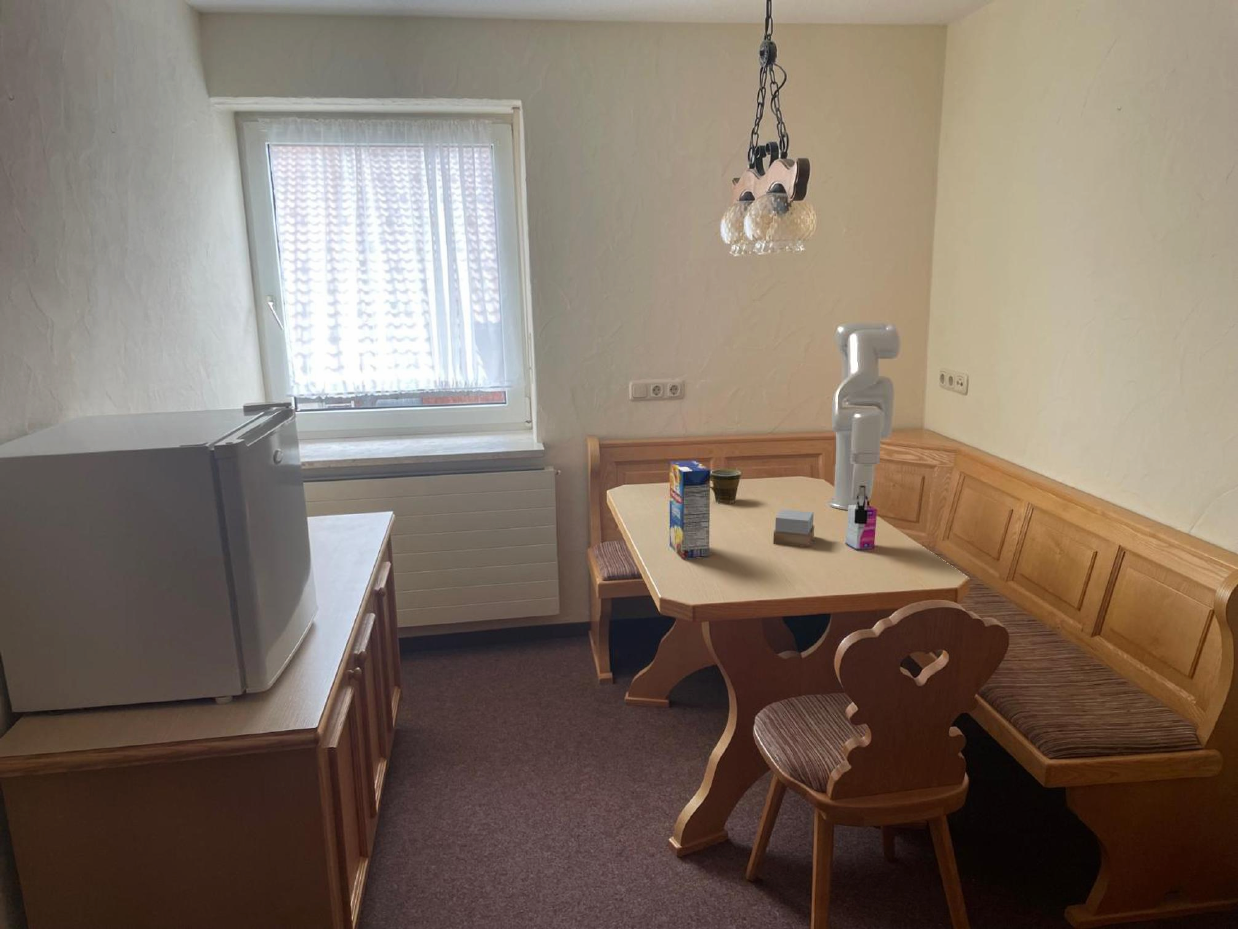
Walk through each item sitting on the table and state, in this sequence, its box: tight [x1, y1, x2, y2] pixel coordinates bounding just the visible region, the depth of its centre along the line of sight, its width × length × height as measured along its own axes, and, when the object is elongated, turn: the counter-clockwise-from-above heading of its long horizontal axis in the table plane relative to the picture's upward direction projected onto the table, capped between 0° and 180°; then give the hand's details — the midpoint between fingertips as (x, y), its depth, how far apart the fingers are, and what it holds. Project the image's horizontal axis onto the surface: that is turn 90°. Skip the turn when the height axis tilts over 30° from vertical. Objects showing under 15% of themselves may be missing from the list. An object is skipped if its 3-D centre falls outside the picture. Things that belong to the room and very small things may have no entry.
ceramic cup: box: [710, 468, 742, 504], centre depth 267 cm, size 13×10×10 cm
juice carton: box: [669, 460, 711, 560], centre depth 216 cm, size 12×8×24 cm, turn 13°
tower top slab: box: [774, 509, 814, 535], centre depth 225 cm, size 9×9×4 cm
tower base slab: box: [772, 524, 815, 548], centre depth 226 cm, size 10×10×4 cm
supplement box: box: [845, 504, 878, 551], centre depth 219 cm, size 6×6×12 cm
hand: (861, 519), depth 218 cm, fingers open, 9 cm apart
